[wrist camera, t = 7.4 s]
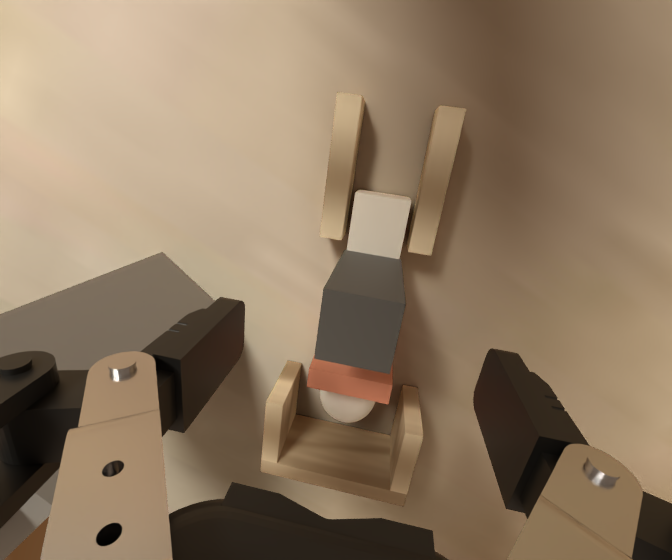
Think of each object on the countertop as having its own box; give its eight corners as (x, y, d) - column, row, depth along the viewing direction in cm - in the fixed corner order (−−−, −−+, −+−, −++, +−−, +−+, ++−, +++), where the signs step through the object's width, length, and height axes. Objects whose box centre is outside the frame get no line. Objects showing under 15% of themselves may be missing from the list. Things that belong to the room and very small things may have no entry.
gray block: (345, 187, 19) (314, 202, 12) (423, 199, 19) (446, 223, 11) (323, 344, 23) (287, 437, 15) (388, 357, 22) (387, 460, 15)
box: (287, 360, 24) (265, 401, 20) (417, 387, 23) (423, 437, 19) (281, 422, 26) (260, 471, 21) (401, 449, 25) (403, 506, 21)
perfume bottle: (237, 322, 23) (-160, 730, 7) (183, 375, 26) (-218, 783, 9) (162, 251, 23) (-520, 513, 6) (113, 313, 25) (-480, 632, 8)
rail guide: (342, 99, 18) (337, 92, 16) (458, 114, 17) (466, 108, 15) (326, 229, 20) (319, 236, 18) (427, 247, 20) (431, 255, 18)
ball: (318, 378, 20) (310, 428, 21) (380, 391, 19) (369, 441, 20) (328, 347, 23) (322, 392, 24) (382, 358, 23) (372, 403, 24)
